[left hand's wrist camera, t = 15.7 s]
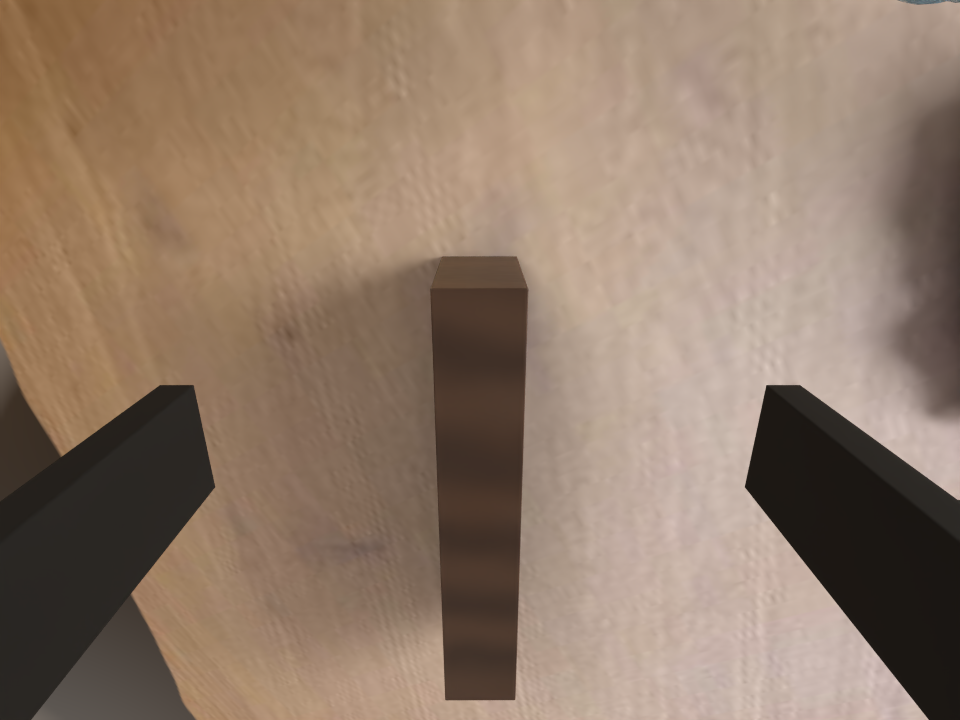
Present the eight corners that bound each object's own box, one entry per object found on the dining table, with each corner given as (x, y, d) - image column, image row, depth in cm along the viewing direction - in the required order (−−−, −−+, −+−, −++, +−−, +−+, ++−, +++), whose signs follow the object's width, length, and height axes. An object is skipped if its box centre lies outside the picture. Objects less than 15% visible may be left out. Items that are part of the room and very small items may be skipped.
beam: (441, 256, 36) (430, 288, 27) (516, 256, 36) (528, 288, 27) (451, 601, 47) (445, 700, 38) (508, 601, 47) (515, 700, 38)
